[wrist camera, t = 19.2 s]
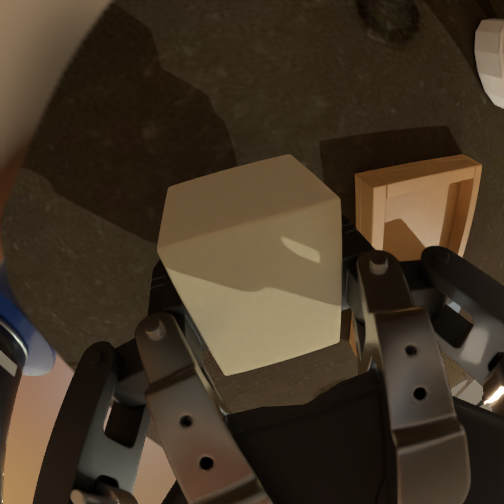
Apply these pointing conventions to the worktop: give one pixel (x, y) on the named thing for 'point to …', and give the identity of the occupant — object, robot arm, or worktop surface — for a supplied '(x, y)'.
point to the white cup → (491, 58)
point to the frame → (417, 207)
